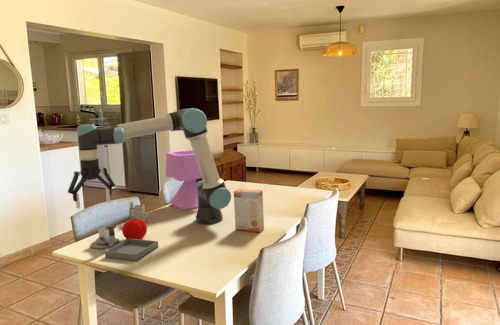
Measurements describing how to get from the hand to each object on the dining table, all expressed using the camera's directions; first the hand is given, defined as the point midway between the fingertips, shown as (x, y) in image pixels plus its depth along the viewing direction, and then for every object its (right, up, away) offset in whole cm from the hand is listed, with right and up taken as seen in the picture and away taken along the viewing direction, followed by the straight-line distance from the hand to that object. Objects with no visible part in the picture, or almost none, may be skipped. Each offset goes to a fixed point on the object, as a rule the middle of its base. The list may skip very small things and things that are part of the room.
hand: (93, 205), depth 172 cm
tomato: (+15, -19, +15) cm, 28 cm away
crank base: (+1, -20, +10) cm, 23 cm away
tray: (+18, -21, -2) cm, 28 cm away
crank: (+4, -18, +6) cm, 19 cm away
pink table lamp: (+33, -9, +77) cm, 84 cm away
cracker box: (+71, -16, +23) cm, 76 cm away
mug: (+7, -15, +43) cm, 46 cm away
